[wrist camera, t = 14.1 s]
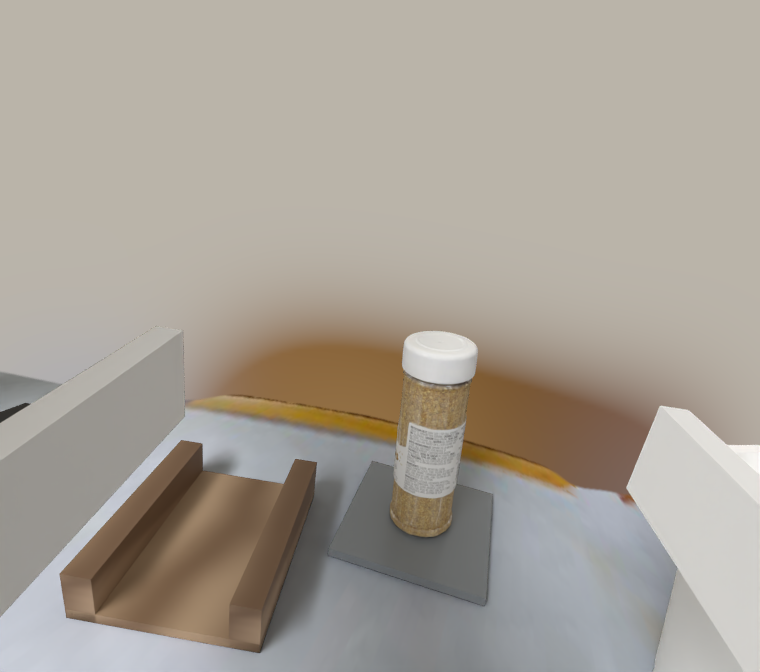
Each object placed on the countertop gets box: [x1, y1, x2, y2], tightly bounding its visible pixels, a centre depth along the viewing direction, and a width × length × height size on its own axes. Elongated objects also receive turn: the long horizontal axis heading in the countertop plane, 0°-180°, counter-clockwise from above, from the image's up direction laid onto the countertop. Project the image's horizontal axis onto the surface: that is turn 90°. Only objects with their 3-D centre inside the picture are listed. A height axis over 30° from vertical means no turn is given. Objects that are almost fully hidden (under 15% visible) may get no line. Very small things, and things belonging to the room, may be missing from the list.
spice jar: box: [390, 331, 478, 537], centre depth 30 cm, size 5×5×13 cm
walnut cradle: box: [60, 440, 317, 653], centre depth 28 cm, size 10×12×3 cm
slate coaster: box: [328, 461, 493, 606], centre depth 33 cm, size 10×10×1 cm
